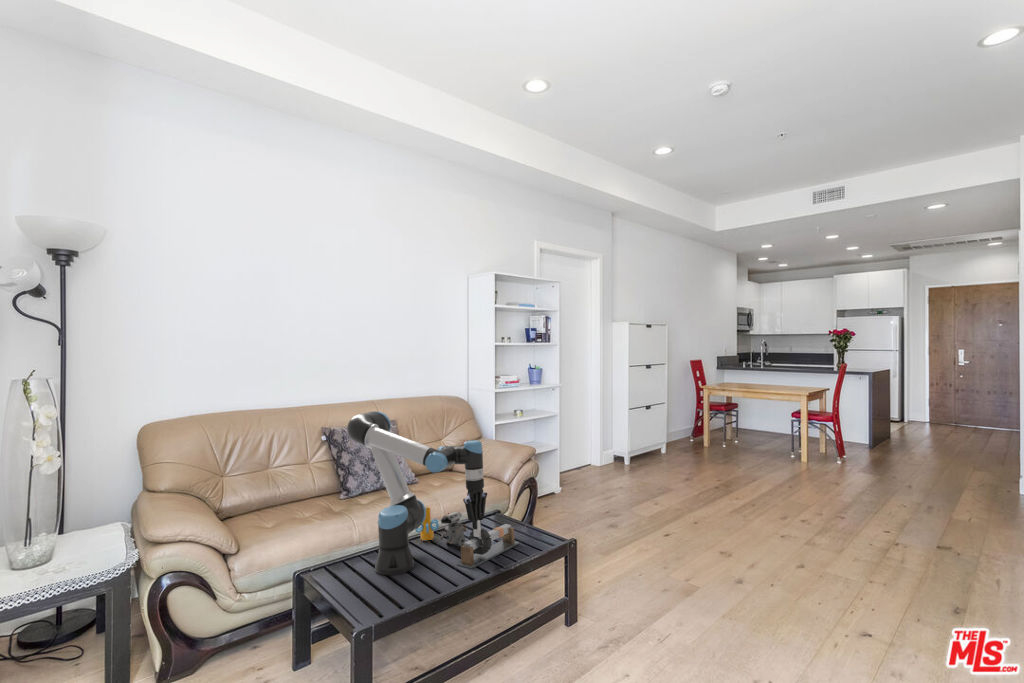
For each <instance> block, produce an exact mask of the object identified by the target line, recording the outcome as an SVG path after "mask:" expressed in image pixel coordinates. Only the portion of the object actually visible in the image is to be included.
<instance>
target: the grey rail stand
mask: <svg viewBox="0 0 1024 683" xmlns="http://www.w3.org/2000/svg"><path fill="white" fill-rule="evenodd" d="M487 532H488V533H489V535H490V537H489V538H491V542H493V541H495V540H497V539H500V538H502V539H501V540H499V541H498V542H495V543H494V544H492V546H491V549H490V550H489V551H488V552H487V553H485V554H483V555H480V554H476V553H475V552H474V551H473V550H475V549H477V548H479V547H481V546H482V547H483V539H482V538H481V537H476V538H474V539H471V540H469V539H468V540H467V541H466V542H465V543H464V545H463V546H461V549H460V561H458V562H456V565H457V566H460V567H463V568H467V569H474V568H476V567H478V566H480V565H481V564H483V563H485V562H487V561H489V560H491V559H494V558H495V557H496V556H499V555H501V554H502V553H504V552H507V551H509V550H510V549H512V548H513V547H515V546H517V545H519V541H516V540H515V528H514V527H513V526H512V524H508V523H504V524H502V525H500V526H497V527H495V528H493V529H491V530H489V531H487Z"/></svg>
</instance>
